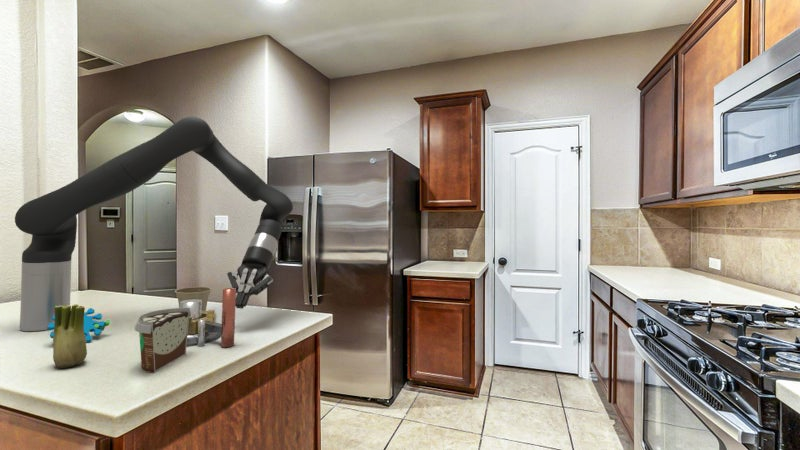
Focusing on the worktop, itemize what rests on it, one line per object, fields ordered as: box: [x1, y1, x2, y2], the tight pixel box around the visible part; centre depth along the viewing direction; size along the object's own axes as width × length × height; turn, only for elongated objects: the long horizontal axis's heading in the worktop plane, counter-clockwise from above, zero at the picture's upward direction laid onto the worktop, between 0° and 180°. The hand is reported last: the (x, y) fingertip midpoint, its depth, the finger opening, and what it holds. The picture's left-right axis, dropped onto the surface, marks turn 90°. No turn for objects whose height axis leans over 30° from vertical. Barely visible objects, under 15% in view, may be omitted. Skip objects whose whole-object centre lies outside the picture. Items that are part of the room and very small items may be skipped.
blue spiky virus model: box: [47, 307, 111, 343], centre depth 84 cm, size 11×6×10 cm
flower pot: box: [174, 286, 212, 311], centre depth 104 cm, size 9×9×9 cm
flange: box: [180, 299, 221, 348], centre depth 87 cm, size 16×14×9 cm
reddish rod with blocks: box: [188, 287, 237, 348], centre depth 86 cm, size 20×11×13 cm, turn 67°
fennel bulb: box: [52, 303, 88, 369], centre depth 70 cm, size 6×5×12 cm
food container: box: [134, 307, 191, 374], centre depth 72 cm, size 12×6×10 cm, turn 178°
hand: (238, 307), depth 93 cm, fingers closed
